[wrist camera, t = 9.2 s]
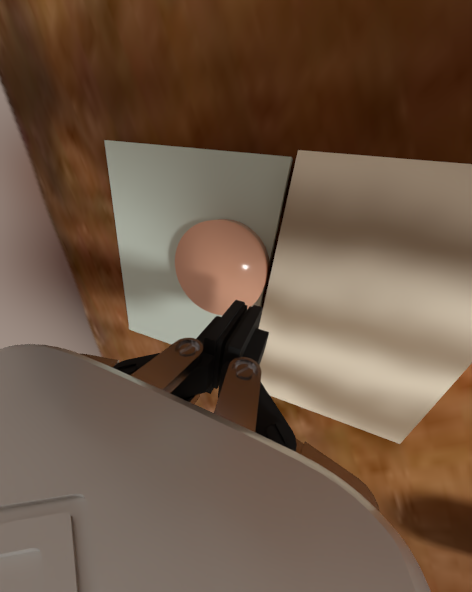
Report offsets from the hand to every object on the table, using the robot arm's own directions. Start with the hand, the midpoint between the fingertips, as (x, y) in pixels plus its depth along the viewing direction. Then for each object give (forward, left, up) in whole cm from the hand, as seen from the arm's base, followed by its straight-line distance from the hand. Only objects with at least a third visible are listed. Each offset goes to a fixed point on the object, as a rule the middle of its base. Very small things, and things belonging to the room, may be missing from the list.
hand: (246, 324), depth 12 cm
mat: (0, -8, -8) cm, 11 cm away
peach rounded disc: (-1, -4, -7) cm, 8 cm away
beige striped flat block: (0, +7, -8) cm, 11 cm away
